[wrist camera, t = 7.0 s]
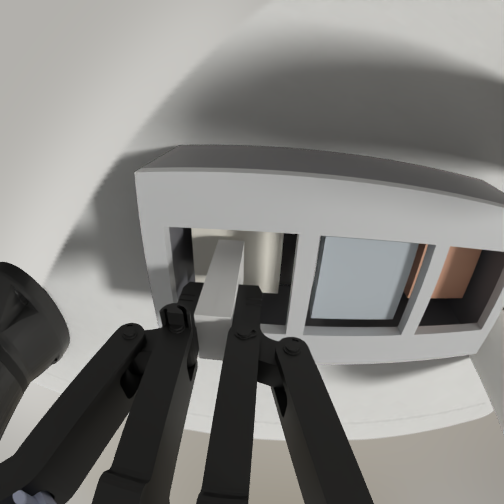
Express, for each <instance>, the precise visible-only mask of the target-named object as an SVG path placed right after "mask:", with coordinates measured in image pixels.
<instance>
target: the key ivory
mask: <svg viewBox="0 0 504 504" xmlns="http://www.w3.org/2000/svg"><path fill="white" fill-rule="evenodd" d="M191 230H192V245H193V259H194V271H195V282H203V283H204V282H205V279H206V276H207V273H208V270H209V267H210V264H211V261H212V258H213V255H214V252H215V249H216V246H217V243H218V240H219V239H221V240H239V241H244V280H243V285H258V286H259V288H260V289H261V291H262V293H276V294H278V289H279V279H280V269H281V259H282V248H283V237H284V233H275V232H258V231H241V230H222V229H203V228H191Z"/></svg>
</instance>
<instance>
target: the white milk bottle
mask: <svg viewBox="0 0 504 504" xmlns="http://www.w3.org/2000/svg"><path fill="white" fill-rule="evenodd" d="M469 357H470V359H471V361H472V363H473V365H474V367H475V369H476V371H477V373H478V375H479V377H480V379H481V381H482V384H483V386H484V388H485V390H486V392H487V395H488V397H489V399H490V402H491V404H492V406H493V409H494V411H495V413H496V416H497V419H498V421H499V424H500V427H501V429H502V432H503V435H504V310H502V311H501V313H500V314H499V316H498V318H497V320H496V322H495V323H494V325H493V327H492V329H491V330H490V332H489V334H488V335H487V337H486V339H485V340H484V342H483V344H482V345H481V347H480V348H479V350H478V351H477V353H476V354H471V355H469Z"/></svg>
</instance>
